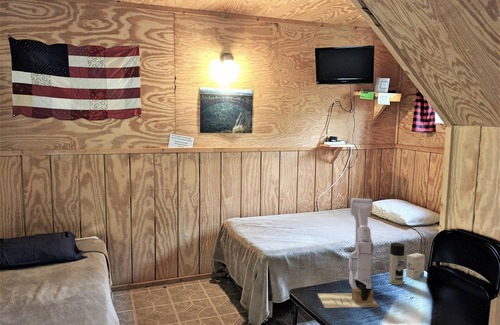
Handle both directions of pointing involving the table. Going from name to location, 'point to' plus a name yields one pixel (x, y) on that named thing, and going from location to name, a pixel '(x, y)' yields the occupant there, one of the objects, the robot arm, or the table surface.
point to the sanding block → (357, 295)
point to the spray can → (396, 263)
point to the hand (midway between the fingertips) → (362, 297)
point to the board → (342, 301)
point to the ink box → (415, 265)
